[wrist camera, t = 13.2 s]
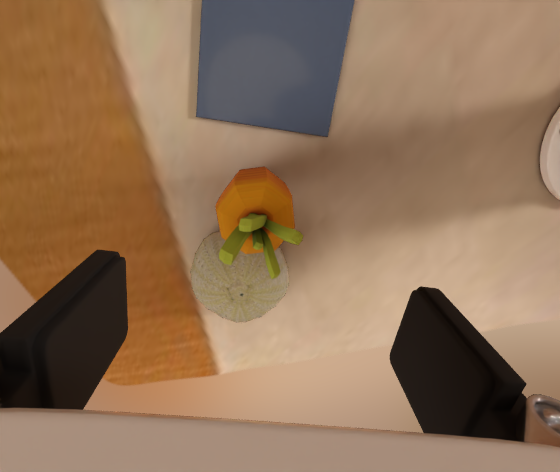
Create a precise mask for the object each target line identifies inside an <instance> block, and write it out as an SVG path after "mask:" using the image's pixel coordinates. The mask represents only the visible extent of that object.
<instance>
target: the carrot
mask: <svg viewBox="0 0 560 472" xmlns="http://www.w3.org/2000/svg"><path fill="white" fill-rule="evenodd" d="M216 212H217V217H218V223H219V228H220V233H221V237H222V238H223V239H224V240H226V241H225V243H224V244H223V246H222V248H221V250H220V252H219V259H220V260H221V261H222V262H223V263H224V264H228V265H231V264H232V263H233V261H234V260H235V258H236V256H237V255H238V253H239V251H242V252H243V253H245V254H253V253H261V252H264V256H265V261H266V265H267V268H268V272H269V274H270V277H271V279H274V278H277V277H278V276H279V275H280V272H281V271H280V268H279V264H278V261H277V259H276V255H275V252H274V251H275V250H276V249H277V248H278V247H279V246H280V245H281V243H282V242H283V241H287V242H289V243H292V244H296V245H299V244H300V242H301V241H302V239H303V235H302V234H301V233H300V232H299V231H297V230H294V228H295V223H294V213H293V202H292V195H291V193H290V191H289V189H288V187H287V185H286V184H285V183H284V182H283V181H282V180H281V179H279V178H278V177H277V176H275V175H274V174H273V173H272V172H270V171H269V170H268V169H267V168H265V167H258V168H249V169H242V170H239V172H238V173H237V174H236V176H235V177H234V178H233V179H232V181H231V182H230V183H229V185H228V186H227V187H226V189H225V190H224V192H223V193H222V195H221V196H220V198H219V200H218V202H217V204H216Z"/></svg>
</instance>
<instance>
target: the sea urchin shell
mask: <svg viewBox="0 0 560 472" xmlns="http://www.w3.org/2000/svg"><path fill="white" fill-rule="evenodd" d="M225 241H226V240H224V239H223V238H222V237H221V233H220V231H219V232H215V233H212V234H210V235H209V236H208V237H207V238H205V239H204V240H203V242H202V244H201V246H200V247H199V249H198V250H197V251H196V253H195V258H194V262H193V265H192V268H191V271H190V273H191V280H192V289H193V292H194V294H195V296H196V298H197V299H198V300H199V301H200V302H201V303H202V304H203V305H205V307H206V308H208V310H211V311H212V312H214V313H216V314H218V315H219V316H221V317H222V318H225V319H228V320H231V321H234V322H236V323H237V322H247V321H250V320H253V319H256V318H260V317H262V316H263V315H264V314H265V313H266V312H268V311H269V310H271V309H272V308H274V307H275V306H276V304H278V303H279V301H280V300H281V299H282V297H283V296H285V294H286V291H287V287H288V285H289V277H288V266H287V264H286V262H285V259H284V256H283V253H282V250H281V249H280V248H279V247H278V248H277V249H276V250H275V251H274V252H275V255H276V259H277V261H278V264H279V268H280V271H281V272H280V275H279V276H278V277H277V278H274V279H271V277H270V274H269V272H268V268H267V265H266V261H265V256H264V252H261V253H253V254H245V253H243V252H242V251H239V253H238V255H237V256H236V258H235V260H234V261H233V263H232V264H231V265H228V264H224V263H223V262H222V261H221V260H220V259H219V252H220V250H221V248H222V246H223V244H224V243H225Z"/></svg>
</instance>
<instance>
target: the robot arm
mask: <svg viewBox="0 0 560 472" xmlns="http://www.w3.org/2000/svg"><path fill="white" fill-rule="evenodd" d="M540 171H541V175H542V178H543V181H544V183H545V185H546V187H547V188H548V190H549V191H550V192H551V193H552V194H553V195H554V196H555V197H556V198H557V199H559V200H560V107H559V109H558V110H557V112H556V113H555V115H554V116H553V118H552V120H551V122H550V124H549V126H548V128H547V130H546V133H545V136H544V139H543V142H542V146H541V153H540ZM127 331H128V316H127V288H126V262H125V258H124V257H120V255H119V253H118V252H114V251H105V250H96V251H95V252H94V253H93V254H91V255H90V256H89V257H88V258H87V259H86V260H85V261H83V262H82V263H81V264H80V265H79V266H78V267H76V268H75V269H74V270H73V271H72V272H71V273H69V274H68V275H67V276H66V277H65V278H64V279H62V280H61V281H60V282H59V283H58V284H57V285H56V286H54V287H53V288H52V289H51V290H50V291H49V292H47V293H46V294H45V295H44V296H43V297H42V298H40V299H39V300H38V301H37V302H36V303H35V304H34V305H32V306H31V307H30V308H29V309H28V310H27V311H25V312H24V313H23V314H22V315H21V316H20V317H19V318H18V319H16V320H15V321H14V322H13V323H12V324H10V325H9V326H8V327H7V328H6V329H5V330H3V331H2V332H1V333H0V472H560V401H559V400H557V399H554V398H552V397H549V396H545V395H541V394H533V395H531V396H529V397H528V398H526V397H525V396H524V395H523V394H522V391H523V389H524V387H525V386H526V383H525V382H524V381H523V379H522V378H521V377H520V376H519V375H518V374H517V373H516V372H515V371H514V370H513V369H512V368H511V366H510V365H509V364H508V363H507V362H506V361H505V360H504V359H503V358H502V357H501V356H500V355H499V353H498V352H497V351H496V350H495V349H494V348H493V347H492V346H491V345H490V344H489V343H488V342H487V341H486V339H485V338H484V337H483V336H482V335H481V334H480V333H479V332H478V331H477V330H476V329H475V328H474V326H473V325H472V324H471V323H470V322H469V321H468V320H467V319H466V318H465V317H464V316H463V315H462V313H461V312H460V311H459V310H458V309H457V308H456V307H455V306H454V305H453V304H452V303H451V302H450V300H449V299H448V298H447V297H446V296H445V295H444V294H443V293H442V292H441V291H440V290H439V289H436V288H428V287H419V288H418V289H417V290H414V291H413V292H412V293H411V296H410V298H409V301H408V304H407V307H406V310H405V313H404V315H403V318H402V321H401V324H400V327H399V329H398V332H397V335H396V338H395V341H394V344H393V346H392V349H391V352H390V362H391V365H392V367H393V369H394V371H395V374H396V376H397V378H398V380H399V382H400V384H401V386H402V388H403V390H404V392H405V394H406V397H407V399H408V401H409V403H410V405H411V407H412V409H413V411H414V413H415V416H416V418H417V420H418V422H419V424H420V426H421V428H422V430H423V432H424V433H416V432H402V431H390V430H377V429H364V428H350V427H336V426H322V425H309V424H295V423H294V424H293V423H281V422H266V421H252V420H251V421H250V420H237V419H222V418H207V417H190V416H176V415H160V414H159V415H158V414H145V413H130V412H112V411H94V410H83V409H84V407H85V405H86V404H87V402H88V400H89V399H90V397H91V395H92V394H93V392H94V390H95V389H96V387H97V385H98V384H99V382H100V380H101V379H102V377H103V375H104V374H105V372H106V370H107V369H108V367H109V365H110V364H111V362H112V360H113V359H114V357H115V355H116V354H117V352H118V350H119V349H120V347H121V345H122V344H123V342H124V340H125V338H126V336H127Z"/></svg>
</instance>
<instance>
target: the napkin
mask: <svg viewBox="0 0 560 472" xmlns="http://www.w3.org/2000/svg"><path fill="white" fill-rule="evenodd" d="M353 5H354V0H202V11H201V32H200V52H199V72H198V92H197V112H196V117H201V118H208V119H214V120H221V121H227V122H234V123H240V124H247V125H253V126H260V127H266V128H273V129H279V130H286V131H292V132H299V133H305V134H312V135H318V136H325V137H328V132H329V127H330V122H331V117H332V112H333V107H334V102H335V97H336V92H337V86H338V81H339V76H340V71H341V66H342V61H343V56H344V51H345V46H346V41H347V36H348V30H349V25H350V20H351V15H352V10H353Z"/></svg>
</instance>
